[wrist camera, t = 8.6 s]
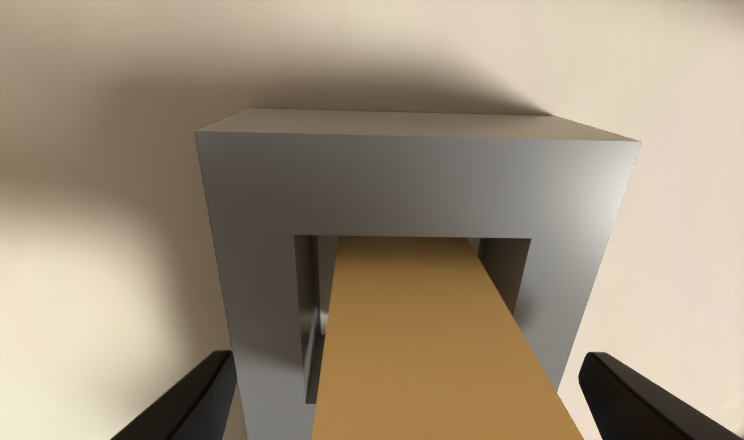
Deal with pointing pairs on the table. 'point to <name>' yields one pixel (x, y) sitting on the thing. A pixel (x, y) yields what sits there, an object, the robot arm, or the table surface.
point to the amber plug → (427, 350)
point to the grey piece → (397, 226)
